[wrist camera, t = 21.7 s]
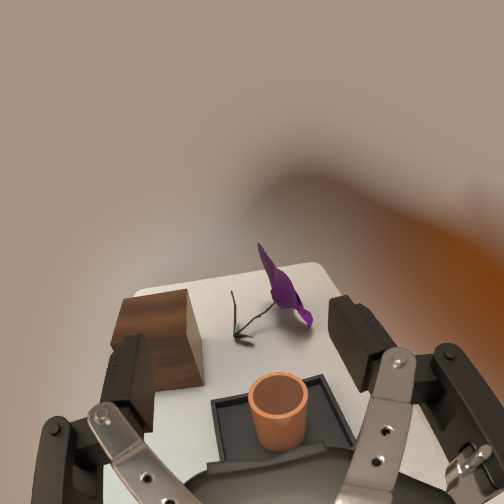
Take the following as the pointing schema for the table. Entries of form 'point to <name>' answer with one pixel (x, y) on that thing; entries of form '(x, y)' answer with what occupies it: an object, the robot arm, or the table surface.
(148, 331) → the block
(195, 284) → the table surface
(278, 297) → the flower
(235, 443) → the tray
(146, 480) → the robot arm
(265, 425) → the cup
